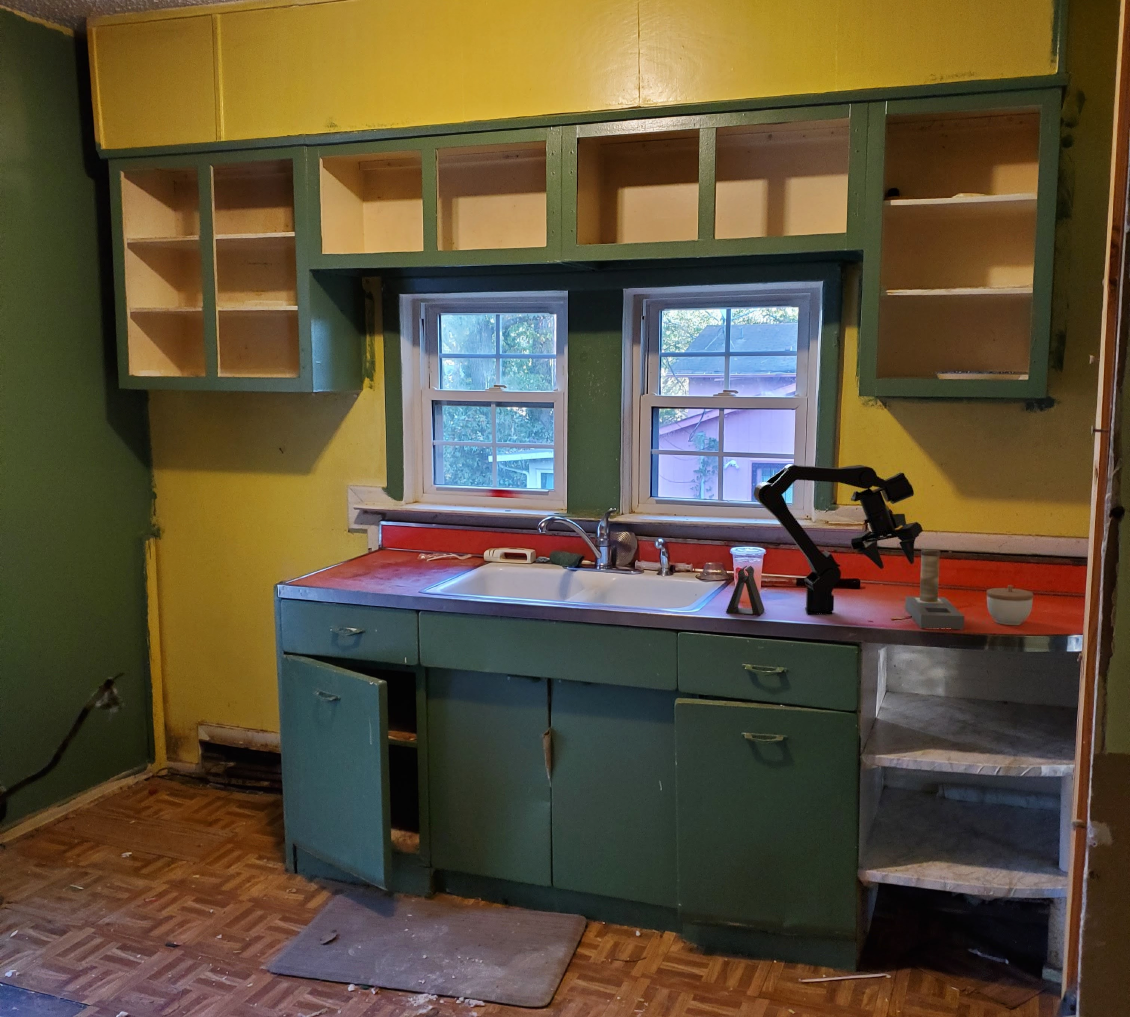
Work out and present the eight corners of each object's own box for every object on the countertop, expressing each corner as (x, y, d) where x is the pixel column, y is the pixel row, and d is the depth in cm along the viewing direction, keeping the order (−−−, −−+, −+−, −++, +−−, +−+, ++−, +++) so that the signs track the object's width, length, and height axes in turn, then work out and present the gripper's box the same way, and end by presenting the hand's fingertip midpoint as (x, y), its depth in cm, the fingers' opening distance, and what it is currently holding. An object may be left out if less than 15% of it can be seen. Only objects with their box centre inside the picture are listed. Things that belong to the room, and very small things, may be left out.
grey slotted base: (920, 629, 256) (921, 614, 256) (905, 609, 278) (905, 595, 277) (963, 630, 255) (964, 615, 254) (944, 610, 276) (944, 596, 276)
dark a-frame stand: (764, 611, 277) (765, 566, 276) (759, 616, 272) (760, 570, 270) (731, 608, 281) (731, 564, 279) (725, 613, 275) (726, 568, 274)
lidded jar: (1034, 628, 256) (1036, 590, 255) (988, 626, 259) (989, 588, 258) (1028, 618, 267) (1030, 582, 265) (983, 616, 269) (984, 580, 268)
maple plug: (925, 602, 269) (927, 552, 268) (915, 598, 274) (917, 549, 272) (941, 601, 270) (943, 551, 269) (931, 598, 275) (933, 549, 273)
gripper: (922, 493, 270) (943, 549, 271) (862, 506, 285) (882, 559, 286) (900, 508, 263) (922, 565, 264) (840, 521, 278) (861, 575, 279)
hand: (897, 566), depth 274 cm, fingers open, 9 cm apart
